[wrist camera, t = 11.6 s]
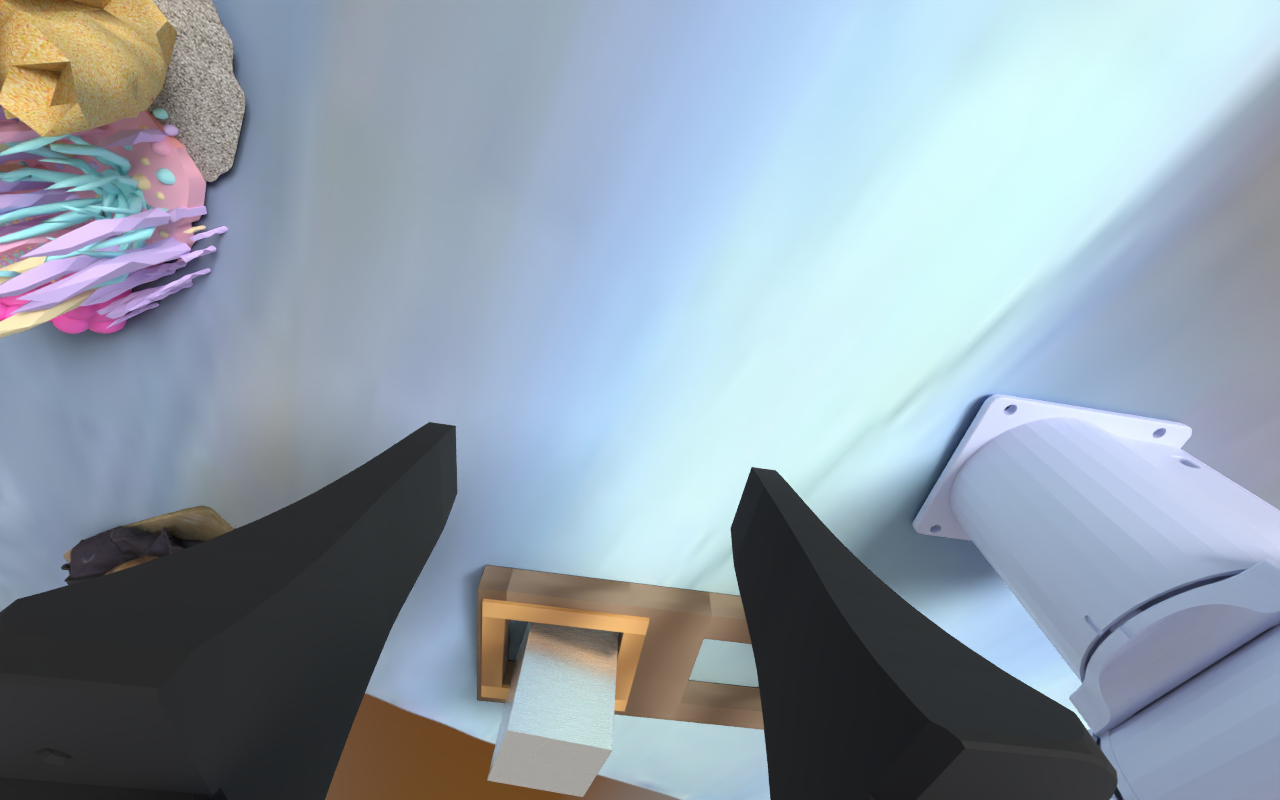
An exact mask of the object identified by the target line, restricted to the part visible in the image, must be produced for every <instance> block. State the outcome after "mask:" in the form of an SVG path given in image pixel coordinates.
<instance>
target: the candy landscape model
mask: <svg viewBox="0 0 1280 800" xmlns="http://www.w3.org/2000/svg"><path fill="white" fill-rule="evenodd" d="M232 62H233V45H232V41H231V39H230V37H229V35H228V33H227V32H226V30H225V28H224V27H223V25H222V23H221V21H220V19H219V16H218V14H217V11H216V8H215V6H214V4H213V3H212V1H211V0H0V338H1V337H5V336H8V335H12V334H15V333H19V332H22V331H26V330H29V329H31V328H33V327H35V326H38V325H40V324H42V323H44V322H47V321H49V322H53V324H54V326H55V327H56V328H57V329H59V330H60V331H62V332H65V333H71V334H76V333H81V332H84V331H85V330H87V329H89V330H91V331H93V332H97V333H105V334H108V333H114V332H117V331H119V330H120V329H122V328H123V327H124V326H125V324H126V321H127V319H129V318H131V317H133V316H135V315H137V314H140V313H142V312H144V311H146V310H148V309H152V308H155V307H158V306H159V304H158V303H153V304H150V305H148V304H149V303H151V302H153V301H157V300H161V299H163V298H165V297H167V296H168V295H170V294H173V293H176V292H178V291H179V290H181V289H183V288H189V287H192V286H193V283H192V280H191V279H193V278H195V277H197V276H198V275H204V274H207V273H210V272H211V270H210V269H209V268H206V269H203V270H200V271H198V272H194V273H191V274H188V275H185V276H183V277H182V278H180V279H179V280H176V281H173V282H171V283H169V284H167V285H162V286H158V287H154V288H147V289H144V290H142V291H138V292H133V293H132V291H131V290H132V288H134V287H136V286H138V285H140V284H144V283H148V282H151V281H155V280H157V279H159V278H161V277H163V276H167V275H171V274H174V273H175V271H176V269H179V268H182V267H185V266H186V264H187V262H188V261H190V260H192V259H194V258H195V257H199V256H203V255H206V254H209V253H213V252H215V251H216V248H215V247H214V246H213V245H212V246H210V247H208V248H206V249H203V250H196V251H194V252H192V253H190V251H191V248H192V246H193V244H194V243H195V241H197V240H199V239H202V238H206V237H209V236H211V235H213V234H221V233H225V232H227V231H228V229H227V228H226V227H225V226H222V227H219V228H216V229H213V230H210V231H207V232H203V233H199V234H197V235H194V233H195V232H197V231H199V230H205V229H206V227H205V226H203V225H201V226H197V227H192V224H191V222H194V221H198V220H199V219H200V217H201V215H204V214H207V211H206V207H205V206H204V199H205V191H206V181H209V182H213V181H215V180H217V178H218V176H220V175H221V174H223V173H225V172H227V171H229V170H230V168H231V167H232V165H233V161H234V157H235V153H236V149H237V144H238V139H239V134H240V130H241V125H242V120H243V116H244V111H245V96H244V93H243V90H242V88H241V87H240V85H239V83H238V82H237V80H236V78H235V76H234V73H233V67H232ZM177 258H178V260H177V261H176V262H174V263H166V264H164V262H166V261H170V260H173V259H177ZM146 305H148V306H146ZM142 307H143V308H142ZM139 308H140V309H139ZM135 309H137V310H135ZM132 310H134V311H132ZM129 311H132V312H131V313H129V314H127V315H126V313H128V312H129Z"/></svg>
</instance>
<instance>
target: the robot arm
mask: <svg viewBox="0 0 1280 800" xmlns="http://www.w3.org/2000/svg"><path fill="white" fill-rule="evenodd" d="M1009 405H1011V406H1010V407H1009V408H1008V409H1006V410H1005V408H1006V407H1007V406H1009ZM1191 434H1192V430H1191V428H1190V427H1188V426H1186V425H1185V424H1182V423H1179V422H1173V421H1166V420H1160V419H1154V418H1148V417H1141V416H1135V415H1129V414H1122V413H1116V412H1110V411H1104V410H1097V409H1091V408H1085V407H1079V406H1072V405H1066V404H1060V403H1053V402H1047V401H1041V400H1035V399H1028V398H1022V397H1016V396H1010V395H1003V394H995V395H992V396H990V397H989V398H987V399H986V400H985V402H984V403H983V405H982V406H981V408H980V410H979V411H978V413H977V415H976V417H975V418H974V420H973V422H972V423H971V425H970V427H969V428H968V430H967V432H966V433H965V435H964V437H963V438H962V440H961V442H960V444H959V445H958V447H957V449H956V450H955V452H954V454H953V455H952V457H951V459H950V460H949V462H948V464H947V465H946V467H945V469H944V471H943V472H942V474H941V476H940V477H939V479H938V481H937V482H936V484H935V486H934V487H933V489H932V491H931V492H930V494H929V496H928V498H927V499H926V501H925V503H924V504H923V506H922V508H921V509H920V511H919V513H918V514H917V516H916V518H915V519H914V521H913V527H914V529H915V530H916V532H917V533H919V534H924V535H932V536H939V537H946V538H954V539H961V540H968V541H973V542H974V544H975V545H976V546H977V547H978V549H979V550H980V551H981V553H982V554H983V555H984V557H985V558H986V559H987V560H988V562H989V563H990V564H991V566H992V567H993V568H994V570H995V571H996V572H997V573H998V575H999V576H1000V577H1001V579H1002V580H1003V581H1004V583H1005V584H1006V585H1007V586H1008V588H1009V589H1010V590H1011V592H1012V593H1013V594H1014V595H1015V597H1016V598H1017V599H1018V601H1019V602H1020V603H1021V605H1022V606H1023V607H1024V608H1025V610H1026V611H1027V612H1028V614H1029V615H1030V616H1031V618H1032V619H1033V620H1034V621H1035V623H1036V624H1037V625H1038V627H1039V628H1040V629H1041V631H1042V632H1043V633H1044V634H1045V636H1046V637H1047V638H1048V640H1049V641H1050V642H1051V643H1052V645H1053V646H1054V647H1055V649H1056V650H1057V651H1058V653H1059V654H1060V655H1061V656H1062V658H1063V659H1064V660H1065V662H1066V663H1067V664H1068V666H1069V667H1070V668H1071V669H1072V671H1073V672H1074V673H1075V675H1076V676H1077V677H1078V679H1079V680H1080V681H1081V682H1082V685H1081V686H1080V687H1079V688H1078V689H1077V691H1075V692H1074V693H1073V694H1072V695H1070V697H1069V699H1070V701H1071V702H1072V703H1073V705H1074V706H1075V708H1076V709H1077V710H1078V712H1079V713H1080V714H1081V716H1082V717H1083V718H1084V720H1085V721H1086V723H1087V724H1088V725H1089V727H1090V728H1091V729H1090V730H1088V731H1087V729H1086V728H1085V726H1084V725H1083V724H1082V722H1081V721H1080V719H1079V718H1078V717H1077V715H1076V714H1075V713H1074V712H1073V711H1071V710H1069V709H1067V708H1066V707H1064V706H1062V705H1061V704H1059V703H1057V702H1056V701H1054V700H1052V699H1050V698H1049V697H1047V696H1045V695H1044V694H1042V693H1040V692H1039V691H1037V690H1035V689H1033V688H1032V687H1030V686H1028V685H1027V684H1025V683H1023V682H1021V681H1020V680H1018V679H1016V678H1015V677H1013V676H1011V675H1010V674H1008V673H1006V672H1005V671H1003V670H1002V669H1000V668H999V667H997V666H996V665H994V664H993V663H991V662H990V661H988V660H986V659H985V658H983V657H982V656H980V655H979V654H977V653H976V652H974V651H973V650H971V649H970V648H968V647H967V646H965V645H964V644H963V643H961V642H960V641H958V640H957V639H955V638H954V637H952V636H951V635H950V634H948V633H947V632H945V631H944V630H943V629H941V628H940V627H939V626H937V625H936V624H935V623H933V622H932V621H931V620H929V619H928V618H927V617H925V616H924V615H923V614H921V613H920V612H919V611H917V610H916V609H915V608H914V607H912V606H911V605H910V604H909V603H907V602H906V601H905V600H904V599H902V598H901V597H900V596H899V595H898V594H896V593H895V592H894V591H893V590H892V589H891V588H890V587H888V586H887V585H886V584H885V583H884V582H883V581H881V580H880V579H879V578H878V577H877V576H876V575H874V574H873V573H872V572H871V571H870V570H869V569H868V568H867V567H866V566H865V565H864V564H863V563H862V562H861V561H860V560H859V559H857V558H856V557H855V556H854V555H853V554H852V553H851V552H850V551H849V550H848V549H847V548H846V547H845V546H844V545H843V544H842V543H841V542H840V541H839V540H838V539H837V538H836V536H835V535H834V534H833V533H832V532H831V531H830V530H829V529H828V528H827V527H826V526H825V525H824V524H823V523H822V521H821V520H820V519H819V518H818V517H817V516H816V515H815V514H814V513H813V512H812V510H811V509H810V508H809V507H808V506H807V505H806V504H805V502H804V501H803V500H802V499H801V498H800V497H799V496H798V494H797V493H796V492H795V491H794V490H793V489H792V488H791V486H790V485H789V484H788V483H787V482H786V481H785V480H784V479H783V478H782V476H781V475H780V474H779V473H778V472H777V471H775V470H768V469H761V468H754V467H752V468H751V471H750V474H749V477H748V480H747V483H746V485H745V488H744V491H743V494H742V497H741V500H740V503H739V506H738V509H737V512H736V514H735V517H734V520H733V523H732V526H731V537H732V550H733V560H734V567H735V572H736V577H737V582H738V586H739V591H740V595H741V600H742V604H743V608H744V613H745V617H746V621H747V626H748V630H749V634H750V639H751V643H752V648H753V652H754V657H755V663H756V668H757V674H758V682H759V690H760V698H761V706H762V714H763V723H764V733H765V743H766V752H767V762H768V774H769V786H770V798H771V800H1280V510H1278V509H1276V508H1275V507H1273V506H1272V505H1270V504H1268V503H1267V502H1265V501H1264V500H1262V499H1260V498H1259V497H1257V496H1256V495H1254V494H1252V493H1251V492H1249V491H1247V490H1246V489H1244V488H1243V487H1241V486H1239V485H1238V484H1236V483H1235V482H1233V481H1231V480H1230V479H1228V478H1227V477H1225V476H1223V475H1222V474H1220V473H1218V472H1217V471H1215V470H1214V469H1212V468H1210V467H1209V466H1207V465H1206V464H1204V463H1202V462H1201V461H1199V460H1197V459H1196V458H1194V457H1193V456H1191V455H1189V454H1188V453H1186V452H1185V451H1183V450H1181V449H1180V448H1181V447H1182V446H1183V445H1184V443H1185V442H1186V441H1187V440H1188V439H1189V438H1190V436H1191ZM456 495H457V465H456V426H452V425H445V424H438V423H431V422H429V423H427V424H426V425H424V426H422V427H421V428H419V429H418V430H416V431H415V432H413V433H412V434H410V435H409V436H407V437H406V438H404V439H403V440H401V441H400V442H398V443H397V444H395V445H393V446H392V447H390V448H389V449H387V450H386V451H384V452H383V453H381V454H379V455H378V456H376V457H375V458H373V459H372V460H370V461H368V462H367V463H365V464H364V465H362V466H360V467H359V468H357V469H355V470H354V471H352V472H350V473H348V474H347V475H345V476H343V477H341V478H340V479H338V480H336V481H334V482H333V483H331V484H329V485H327V486H326V487H324V488H322V489H320V490H319V491H317V492H315V493H313V494H311V495H309V496H307V497H305V498H303V499H301V500H299V501H297V502H295V503H293V504H291V505H289V506H287V507H285V508H283V509H281V510H278V511H276V512H274V513H272V514H270V515H268V516H266V517H263V518H261V519H259V520H257V521H254V522H252V523H249V524H247V525H244V526H242V527H239V528H237V529H234V530H232V531H230V532H227V533H225V534H222V535H220V536H217V537H215V538H212V539H210V540H207V541H205V542H202V543H200V544H197V545H194V546H191V547H189V548H186V549H183V550H180V551H177V552H175V553H172V554H169V555H166V556H163V557H160V558H157V559H154V560H151V561H148V562H145V563H142V564H139V565H136V566H133V567H130V568H126V569H123V570H120V571H117V572H113V573H110V574H107V575H103V576H100V577H96V578H93V579H89V580H86V581H82V582H79V583H75V584H71V585H68V586H64V587H61V588H57V589H54V590H50V591H47V592H43V593H40V594H36V595H32V596H28V597H24V598H20V599H17V600H16V601H14V602H13V603H12V604H10V605H9V606H8V607H6V608H5V609H4V610H2V611H1V612H0V800H325V798H326V795H327V792H328V789H329V786H330V783H331V781H332V778H333V775H334V772H335V770H336V767H337V764H338V762H339V759H340V756H341V754H342V751H343V748H344V746H345V743H346V740H347V737H348V735H349V732H350V729H351V727H352V724H353V721H354V719H355V716H356V714H357V711H358V709H359V706H360V703H361V701H362V699H363V696H364V694H365V691H366V688H367V686H368V683H369V681H370V678H371V676H372V673H373V671H374V668H375V666H376V664H377V661H378V659H379V656H380V654H381V652H382V649H383V647H384V644H385V642H386V640H387V637H388V635H389V632H390V630H391V628H392V626H393V624H394V622H395V620H396V618H397V616H398V614H399V612H400V610H401V608H402V606H403V604H404V603H405V601H406V599H407V597H408V595H409V593H410V591H411V590H412V588H413V586H414V584H415V582H416V580H417V578H418V577H419V575H420V573H421V571H422V569H423V567H424V565H425V564H426V562H427V560H428V558H429V556H430V554H431V552H432V550H433V548H434V547H435V545H436V543H437V541H438V539H439V537H440V535H441V533H442V531H443V529H444V527H445V524H446V522H447V519H448V516H449V514H450V511H451V508H452V506H453V503H454V500H455V497H456ZM934 525H935V526H934ZM932 526H933V527H932Z"/></svg>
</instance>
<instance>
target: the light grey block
mask: <svg viewBox="0 0 1280 800" xmlns="http://www.w3.org/2000/svg"><path fill="white" fill-rule="evenodd" d="M617 650H618V632H614V631H606V630H597V629H588V628H579V627H571V626H562V625H553V624H545V623H536V622H528V625H527V628H526V631H525V633H524V636H523V639H522V642H521V644H520V647H519V650H518V653H517V658H516V662H515V666H514V670H513V674H512V678H511V683H510V687H509V691H508V695H507V699H506V704H505V708H504V712H503V716H502V720H501V724H500V729H499V733H498V737H497V741H496V745H495V750H494V754H493V758H492V762H491V766H490V770H489V775H488V779H487V780H488V781H493V782H499V783H505V784H511V785H517V786H523V787H529V788H534V789H540V790H545V791H551V792H557V793H563V794H568V795H574V796H580V797H583V796H584V795H585V793H586V791H587V790H588V788H589V786H590V785H591V783H592V782H593V780H594V778H595V777H596V775H597V774H598V772H599V770H600V769H601V767H602V766H603V764H604V762H605V761H606V759H607V758H608V756H609V754H610V753H611V751H612V744H613V725H614V707H615V688H616V669H617Z"/></svg>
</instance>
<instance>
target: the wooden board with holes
mask: <svg viewBox="0 0 1280 800" xmlns="http://www.w3.org/2000/svg"><path fill="white" fill-rule="evenodd" d="M511 620H518V621H527V622H536V623H545V624H553V625H562V626H571V627H579V628H588V629H597V630H606V631H614V632H619V635H618V650H617V669H616V688H615V707H614V714H617V715H627V716H636V717H646V718H656V719H666V720H676V721H685V722H695V723H705V724H715V725H724V726H734V727H744V728H754V729H764V723H763V714H762V706H761V698H760V690H759V688H754V687H745V686H736V685H726V684H717V683H708V682H699V681H689V677H690V674H691V672H692V669H693V666H694V664H695V661H696V658H697V655H698V653H699V650H700V647H701V645H702V642H703V639H713V640H721V641H730V642H739V643H747V644H752V643H751V639H750V634H749V630H748V626H747V621H746V617H745V613H744V608H743V604H742V600H741V596H735V595H727V594H719V593H710V592H702V591H694V590H686V589H678V588H670V587H661V586H653V585H645V584H637V583H629V582H620V581H612V580H604V579H596V578H588V577H580V576H571V575H563V574H555V573H547V572H539V571H530V570H522V569H514V568H506V567H498V566H490V565H486V566H485V569H484V572H483V575H482V578H481V581H480V583H479V586H478V661H477V700H480V701H490V702H499V703H506V699H507V695H508V691H509V687H510V683H511V678H512V674H513V670H514V666H515V662H514V661H508V657H509V640H510V622H511Z"/></svg>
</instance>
